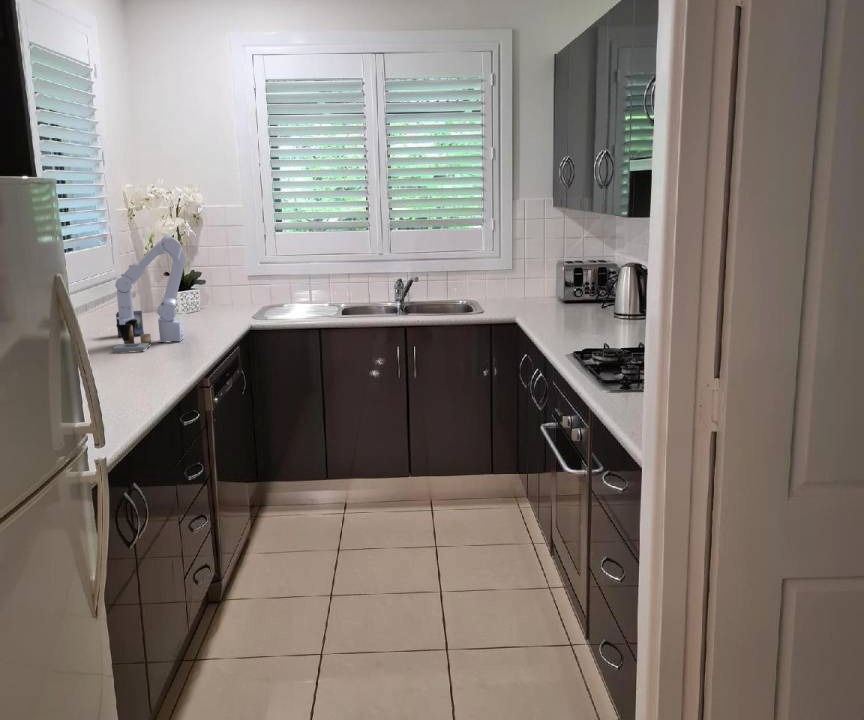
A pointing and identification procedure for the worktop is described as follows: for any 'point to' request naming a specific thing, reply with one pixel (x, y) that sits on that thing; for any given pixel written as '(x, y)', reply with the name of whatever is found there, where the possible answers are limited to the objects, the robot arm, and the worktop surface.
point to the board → (130, 347)
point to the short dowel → (145, 338)
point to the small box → (139, 323)
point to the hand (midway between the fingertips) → (128, 338)
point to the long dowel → (130, 337)
